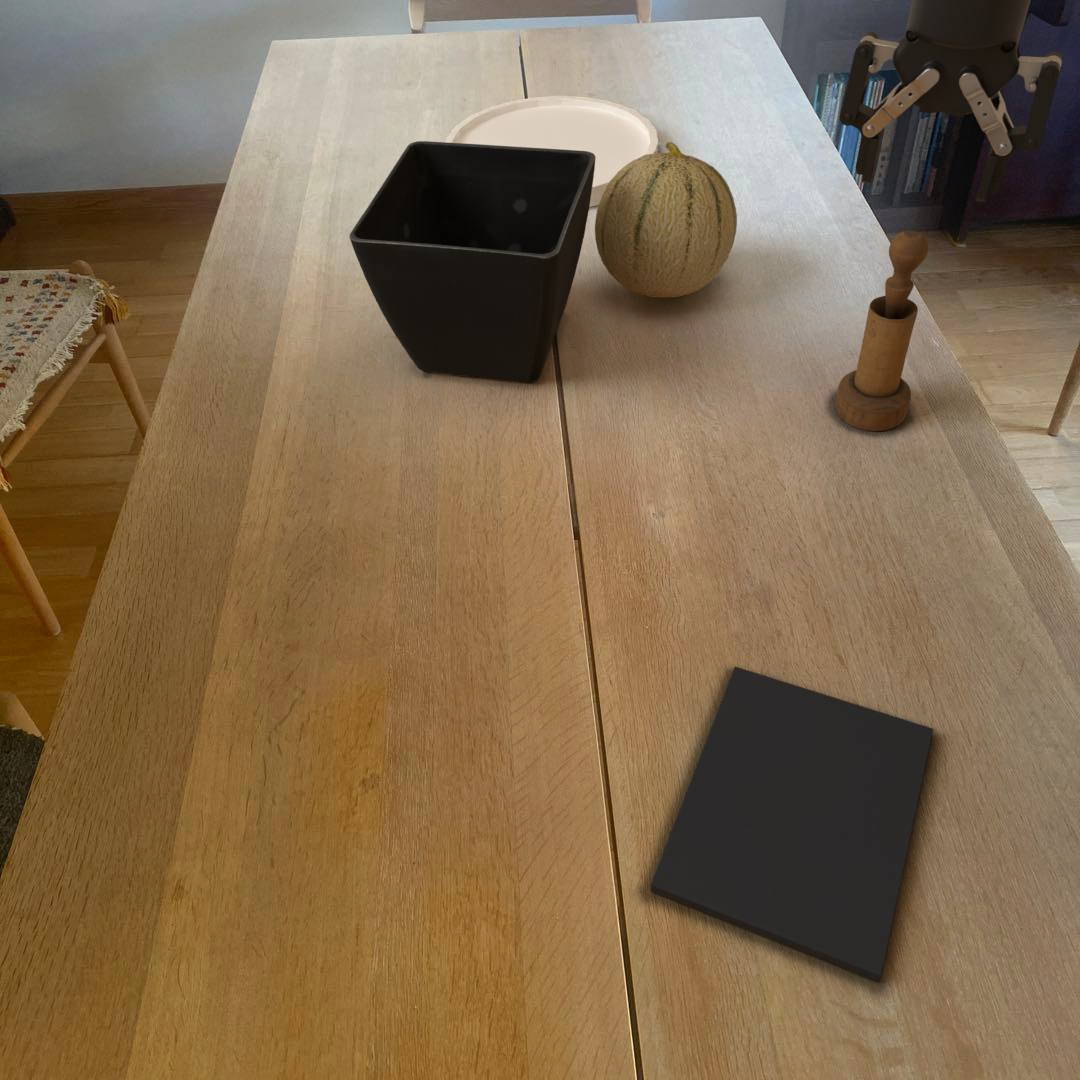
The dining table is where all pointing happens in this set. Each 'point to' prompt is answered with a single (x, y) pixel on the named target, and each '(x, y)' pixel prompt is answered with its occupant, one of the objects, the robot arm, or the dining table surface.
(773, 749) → the mat
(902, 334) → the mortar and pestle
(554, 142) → the plate
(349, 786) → the dining table surface
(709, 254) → the cantaloupe
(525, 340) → the flower pot
